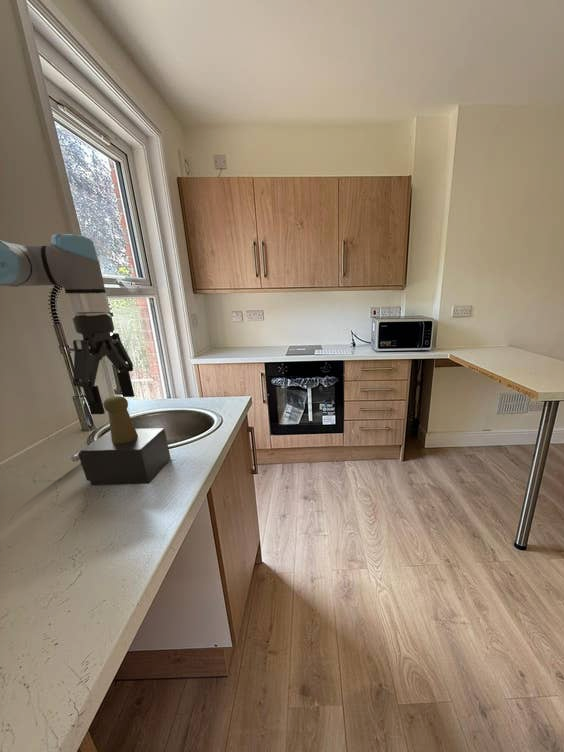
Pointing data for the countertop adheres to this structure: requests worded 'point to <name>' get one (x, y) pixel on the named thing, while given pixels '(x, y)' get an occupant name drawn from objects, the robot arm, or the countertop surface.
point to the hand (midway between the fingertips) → (114, 404)
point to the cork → (120, 420)
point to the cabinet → (126, 458)
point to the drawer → (79, 457)
